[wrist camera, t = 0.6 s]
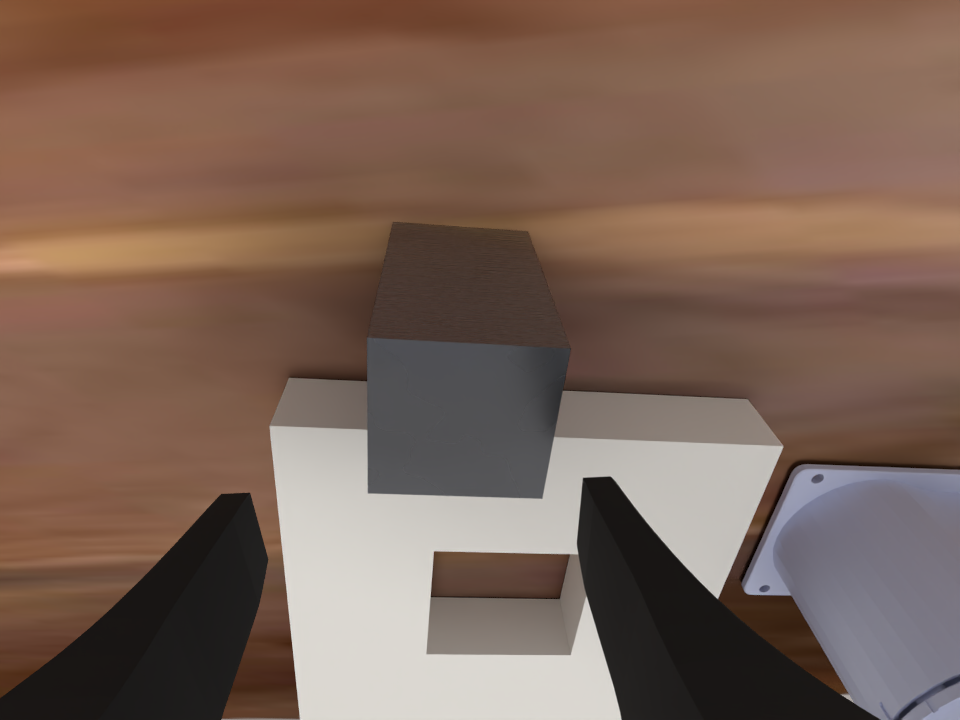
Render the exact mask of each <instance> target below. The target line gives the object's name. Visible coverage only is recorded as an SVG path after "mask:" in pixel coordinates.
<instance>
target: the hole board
mask: <svg viewBox="0 0 960 720" xmlns="http://www.w3.org/2000/svg"><path fill="white" fill-rule="evenodd" d="M270 435H271V445H272V454H273V464H274V474H275V483H276V493H277V502H278V512H279V521H280V531H281V541H282V550H283V560H284V569H285V579H286V588H287V598H288V608H289V617H290V627H291V636H292V646H293V655H294V665H295V675H296V684H297V694H298V703H299V713H300V720H621V715H620V710H619V706H618V702H617V698H616V694H615V690H614V686H613V683H612V680H611V676H610V673H609V670H608V666H607V663H606V660H605V656H604V653H603V650H602V646H601V643H600V640H599V636H598V633H597V630H596V626H595V623H594V619H593V616H592V613H591V609H590V606H589V602H588V599H587V596H586V592H585V589H584V583H583V578H582V573H581V567H580V561H579V555H578V549H577V535H578V524H579V513H580V503H581V492H582V482H583V478H586V477H608V476H611V477H612V478H613V479H614V480H615V481H616V483H617V484H618V485H619V487H620V488H621V490H622V491H623V492H624V494H625V495H626V496H627V498H628V499H629V500H630V502H631V503H632V504H633V505H634V507H635V508H636V509H637V511H638V512H639V513H640V514H641V516H642V517H643V518H644V519H645V521H646V522H647V523H648V524H649V526H650V527H651V528H652V529H653V530H654V532H655V533H656V534H657V535H658V536H659V537H660V539H661V540H662V541H663V542H664V543H665V544H666V546H667V547H668V548H669V549H670V550H671V551H672V553H673V554H674V555H675V556H676V557H677V558H678V559H679V560H680V561H681V562H682V563H683V565H684V566H685V567H686V568H687V569H688V570H689V571H690V572H691V573H692V574H693V575H694V576H695V577H696V578H697V579H698V580H699V581H700V582H701V583H702V584H703V585H704V586H705V587H706V588H707V589H708V590H709V591H710V592H711V593H712V594H713V595H714V596H715V597H716V598H717V599H718V597H719V595H720V593H721V590H722V588H723V586H724V583H725V581H726V579H727V577H728V574H729V572H730V570H731V567H732V565H733V563H734V560H735V558H736V556H737V553H738V551H739V549H740V546H741V544H742V542H743V539H744V537H745V535H746V532H747V530H748V528H749V525H750V523H751V521H752V519H753V516H754V514H755V512H756V509H757V507H758V505H759V502H760V500H761V498H762V495H763V493H764V491H765V488H766V486H767V484H768V481H769V479H770V477H771V474H772V472H773V470H774V467H775V465H776V463H777V461H778V458H779V456H780V454H781V451H782V449H783V447H784V446H783V445H782V443H781V442H780V441H779V440H778V438H777V437H776V436H775V434H774V433H773V432H772V430H771V429H770V428H769V426H768V425H767V424H766V422H765V421H764V420H763V419H762V417H761V416H760V415H759V413H758V412H757V411H756V409H755V408H754V407H753V405H752V404H751V403H750V402H749V400H748V399H733V398H711V397H690V396H669V395H647V394H626V393H605V392H583V391H563V392H562V398H561V403H560V408H559V414H558V419H557V424H556V429H555V435H554V440H553V445H552V451H551V456H550V461H549V466H548V472H547V477H546V482H545V488H544V493H543V498H542V499H532V498H499V497H467V496H434V495H401V494H368V457H367V381H348V380H327V379H305V378H289V379H288V382H287V384H286V387H285V389H284V391H283V394H282V396H281V399H280V401H279V404H278V406H277V409H276V411H275V414H274V416H273V419H272V421H271V423H270ZM434 551H451V552H496V553H541V554H570V557H569V561H568V566H567V570H566V574H565V578H564V583H563V587H562V591H561V595H560V599H515V598H449V597H431V583H432V570H433V556H434Z"/></svg>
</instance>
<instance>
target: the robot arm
mask: <svg viewBox="0 0 960 720" xmlns="http://www.w3.org/2000/svg"><path fill="white" fill-rule="evenodd" d="M815 475H816V476H815ZM814 476H815V477H814ZM577 549H578V555H579V561H580V567H581V573H582V578H583V583H584V589H585V592H586V596H587V599H588V602H589V606H590V609H591V613H592V616H593V619H594V623H595V626H596V630H597V633H598V636H599V640H600V643H601V646H602V650H603V653H604V656H605V660H606V663H607V666H608V670H609V673H610V676H611V680H612V683H613V686H614V690H615V694H616V698H617V702H618V706H619V710H620V715H621V720H960V470H951V469H924V468H897V467H870V466H843V465H816V464H804V465H800V466H797V467H796V468H795V469H794V470H793V471H792V473H791V475H790V477H789V479H788V481H787V484H786V486H785V488H784V490H783V493H782V495H781V497H780V499H779V501H778V504H777V506H776V508H775V510H774V512H773V515H772V517H771V519H770V521H769V524H768V526H767V528H766V530H765V532H764V535H763V537H762V539H761V541H760V543H759V546H758V548H757V550H756V552H755V554H754V557H753V559H752V561H751V563H750V566H749V568H748V570H747V572H746V574H745V577H744V579H743V581H742V587H743V589H744V591H745V593H747V594H750V595H791V596H792V597H793V599H794V601H795V602H796V604H797V606H798V608H799V609H800V611H801V613H802V614H803V616H804V618H805V620H806V621H807V623H808V625H809V626H810V628H811V630H812V631H813V633H814V635H815V637H816V638H817V640H818V642H819V643H820V645H821V647H822V649H823V650H824V652H825V654H826V655H827V657H828V659H829V661H830V662H831V664H832V666H833V667H834V669H835V671H836V672H837V674H838V676H839V678H840V679H841V681H842V683H843V684H844V686H845V688H846V690H847V691H848V693H849V695H850V696H851V698H852V700H853V702H854V703H855V704H854V703H853V702H851V701H850V700H848V699H846V698H845V697H843V696H842V695H840V694H839V693H837V692H836V691H834V690H833V689H831V688H830V687H828V686H827V685H825V684H824V683H822V682H821V681H820V680H818V679H817V678H815V677H814V676H812V675H811V674H809V673H808V672H806V671H805V670H804V669H802V668H801V667H800V666H798V665H797V664H796V663H794V662H793V661H792V660H790V659H789V658H788V657H786V656H785V655H784V654H783V653H781V652H780V651H779V650H777V649H776V648H775V647H773V646H772V645H771V644H770V643H768V642H767V641H766V640H764V639H763V638H762V637H760V636H759V635H758V634H757V633H756V632H754V631H753V630H752V629H751V628H750V627H749V626H747V625H746V624H745V623H744V622H743V621H741V620H740V619H739V618H738V617H737V616H736V615H735V614H734V613H732V612H731V611H730V610H729V609H728V608H727V607H726V606H725V605H724V604H722V603H721V602H720V601H719V600H718V599H717V598H716V597H715V596H714V595H713V594H712V593H711V592H710V591H709V590H708V589H707V588H706V587H705V586H704V585H703V584H702V583H701V582H700V581H699V580H698V579H697V578H696V577H695V576H694V575H693V574H692V573H691V572H690V571H689V570H688V569H687V568H686V567H685V566H684V565H683V563H682V562H681V561H680V560H679V559H678V558H677V557H676V556H675V555H674V554H673V553H672V551H671V550H670V549H669V548H668V547H667V546H666V544H665V543H664V542H663V541H662V540H661V539H660V537H659V536H658V535H657V534H656V533H655V532H654V530H653V529H652V528H651V527H650V526H649V524H648V523H647V522H646V521H645V519H644V518H643V517H642V516H641V514H640V513H639V512H638V511H637V509H636V508H635V507H634V505H633V504H632V503H631V502H630V500H629V499H628V498H627V496H626V495H625V494H624V492H623V491H622V490H621V488H620V487H619V485H618V484H617V483H616V481H615V480H614V479H613V478H612V477H611V476H608V477H586V478H583V482H582V492H581V503H580V513H579V524H578V535H577ZM267 563H268V557H267V553H266V549H265V546H264V542H263V539H262V535H261V531H260V528H259V524H258V520H257V517H256V513H255V509H254V506H253V502H252V498H251V495H250V493H234V494H221V495H220V496H219V497H218V498H217V499H216V500H215V501H214V502H213V503H212V504H211V505H210V506H209V508H208V509H207V510H206V511H205V512H204V513H203V514H202V515H201V516H200V517H199V519H198V520H197V521H196V522H195V523H194V524H193V525H192V526H191V527H190V528H189V530H188V531H187V532H186V533H185V534H184V535H183V536H182V537H181V538H180V539H179V540H178V542H177V543H176V544H175V545H174V546H173V547H172V548H171V549H170V550H169V551H168V552H167V553H166V554H165V555H164V556H163V557H162V558H161V560H160V561H159V562H158V563H157V564H156V565H155V566H154V567H153V568H152V569H151V570H150V571H149V572H148V573H147V574H146V575H145V576H144V577H143V578H142V579H141V580H140V581H139V582H138V583H137V584H136V585H135V586H134V587H133V588H132V589H131V590H130V591H129V592H128V593H127V594H126V595H125V596H124V597H123V598H122V599H121V600H120V601H119V602H118V603H116V604H115V605H114V606H113V607H112V608H111V609H110V610H109V611H108V612H107V613H106V614H105V615H104V616H103V617H102V618H100V619H99V620H98V621H97V622H96V623H95V624H94V625H93V626H91V627H90V628H89V629H88V630H87V631H86V632H84V633H83V634H82V635H81V636H80V637H78V638H77V639H76V640H75V641H74V642H73V643H71V644H70V645H69V646H68V647H67V648H65V649H64V650H63V651H62V652H61V653H59V654H58V655H57V656H56V657H54V658H53V659H52V660H50V661H49V662H48V663H46V664H45V665H44V666H43V667H41V668H40V669H39V670H37V671H36V672H35V673H33V674H32V675H31V676H29V677H28V678H27V679H25V680H24V681H23V682H21V683H20V684H19V685H17V686H16V687H15V688H13V689H12V690H11V691H9V692H8V693H7V694H5V695H4V696H3V697H1V698H0V720H221V719H222V715H223V712H224V709H225V706H226V703H227V700H228V697H229V694H230V691H231V688H232V685H233V682H234V679H235V676H236V673H237V670H238V667H239V664H240V661H241V658H242V655H243V652H244V649H245V646H246V643H247V640H248V637H249V634H250V631H251V628H252V625H253V622H254V619H255V616H256V613H257V610H258V607H259V603H260V598H261V594H262V589H263V584H264V579H265V574H266V568H267Z"/></svg>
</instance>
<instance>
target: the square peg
mask: <svg viewBox="0 0 960 720" xmlns="http://www.w3.org/2000/svg"><path fill="white" fill-rule="evenodd" d="M570 350H571V348H570V345H569V342H568V340H567V337H566V334H565V332H564V329H563V326H562V323H561V321H560V318H559V315H558V312H557V310H556V307H555V304H554V302H553V299H552V296H551V293H550V291H549V288H548V285H547V282H546V280H545V277H544V274H543V272H542V269H541V266H540V263H539V261H538V258H537V255H536V252H535V250H534V247H533V244H532V242H531V239H530V236H529V233H528V232H527V231H513V230H499V229H484V228H470V227H456V226H442V225H428V224H414V223H399V222H393V224H392V229H391V233H390V237H389V242H388V246H387V251H386V255H385V260H384V264H383V269H382V273H381V278H380V282H379V287H378V291H377V295H376V300H375V304H374V309H373V313H372V318H371V322H370V327H369V331H368V336H367V457H368V494H401V495H434V496H467V497H499V498H532V499H542V498H543V493H544V488H545V482H546V477H547V472H548V466H549V461H550V456H551V451H552V445H553V440H554V435H555V429H556V424H557V419H558V414H559V408H560V403H561V398H562V392H563V387H564V382H565V377H566V371H567V366H568V361H569V355H570Z"/></svg>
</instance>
